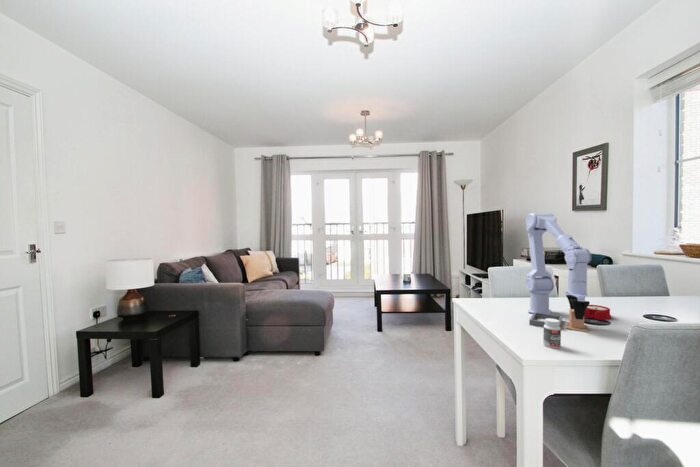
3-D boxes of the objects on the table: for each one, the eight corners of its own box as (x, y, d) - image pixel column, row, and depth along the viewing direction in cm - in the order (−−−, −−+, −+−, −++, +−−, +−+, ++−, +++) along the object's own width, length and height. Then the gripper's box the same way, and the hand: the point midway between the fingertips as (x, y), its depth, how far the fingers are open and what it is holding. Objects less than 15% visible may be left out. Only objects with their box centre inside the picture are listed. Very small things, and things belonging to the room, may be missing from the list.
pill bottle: (552, 349, 101) (552, 322, 101) (539, 343, 106) (540, 318, 105) (564, 347, 102) (564, 321, 102) (551, 342, 107) (552, 317, 107)
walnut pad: (567, 323, 128) (567, 322, 128) (587, 325, 124) (587, 324, 124) (566, 329, 120) (566, 327, 120) (587, 332, 117) (587, 331, 117)
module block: (569, 324, 125) (569, 308, 125) (581, 325, 123) (581, 309, 123) (571, 327, 121) (571, 311, 121) (584, 328, 119) (584, 312, 119)
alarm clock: (614, 307, 137) (607, 305, 127) (613, 322, 136) (606, 322, 126) (585, 303, 145) (575, 301, 135) (584, 317, 144) (574, 316, 134)
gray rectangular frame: (534, 316, 136) (534, 312, 136) (562, 320, 130) (562, 315, 130) (529, 324, 126) (529, 319, 125) (560, 329, 120) (560, 324, 120)
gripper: (561, 277, 130) (561, 310, 130) (568, 283, 117) (567, 320, 117) (582, 278, 127) (582, 312, 127) (592, 284, 114) (591, 322, 114)
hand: (577, 316), depth 122 cm, fingers open, 7 cm apart
